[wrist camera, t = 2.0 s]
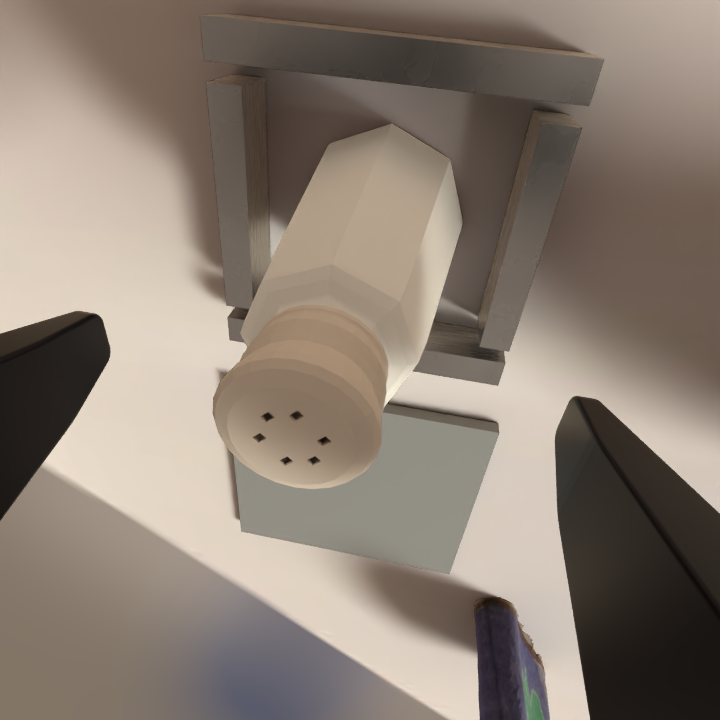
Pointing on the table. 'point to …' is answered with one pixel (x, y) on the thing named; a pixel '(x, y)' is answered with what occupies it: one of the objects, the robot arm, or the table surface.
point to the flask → (507, 665)
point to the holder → (410, 67)
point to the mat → (384, 494)
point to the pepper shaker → (342, 311)
